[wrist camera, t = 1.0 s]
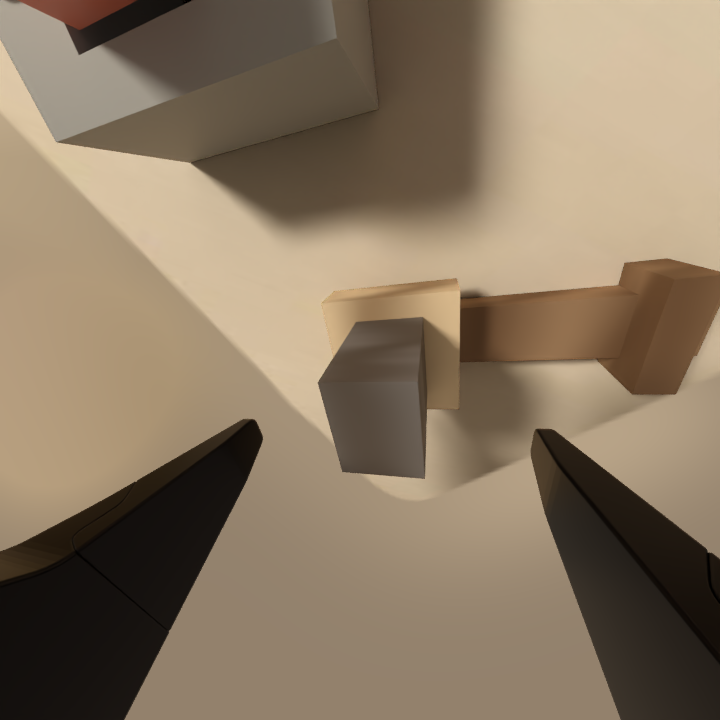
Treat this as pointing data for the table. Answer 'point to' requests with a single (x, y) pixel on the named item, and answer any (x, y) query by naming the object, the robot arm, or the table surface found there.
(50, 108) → the grey slotted box
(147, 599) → the robot arm
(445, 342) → the block stack
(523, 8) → the table surface
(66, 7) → the plunger
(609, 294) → the rail
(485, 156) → the table surface
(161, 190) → the table surface
